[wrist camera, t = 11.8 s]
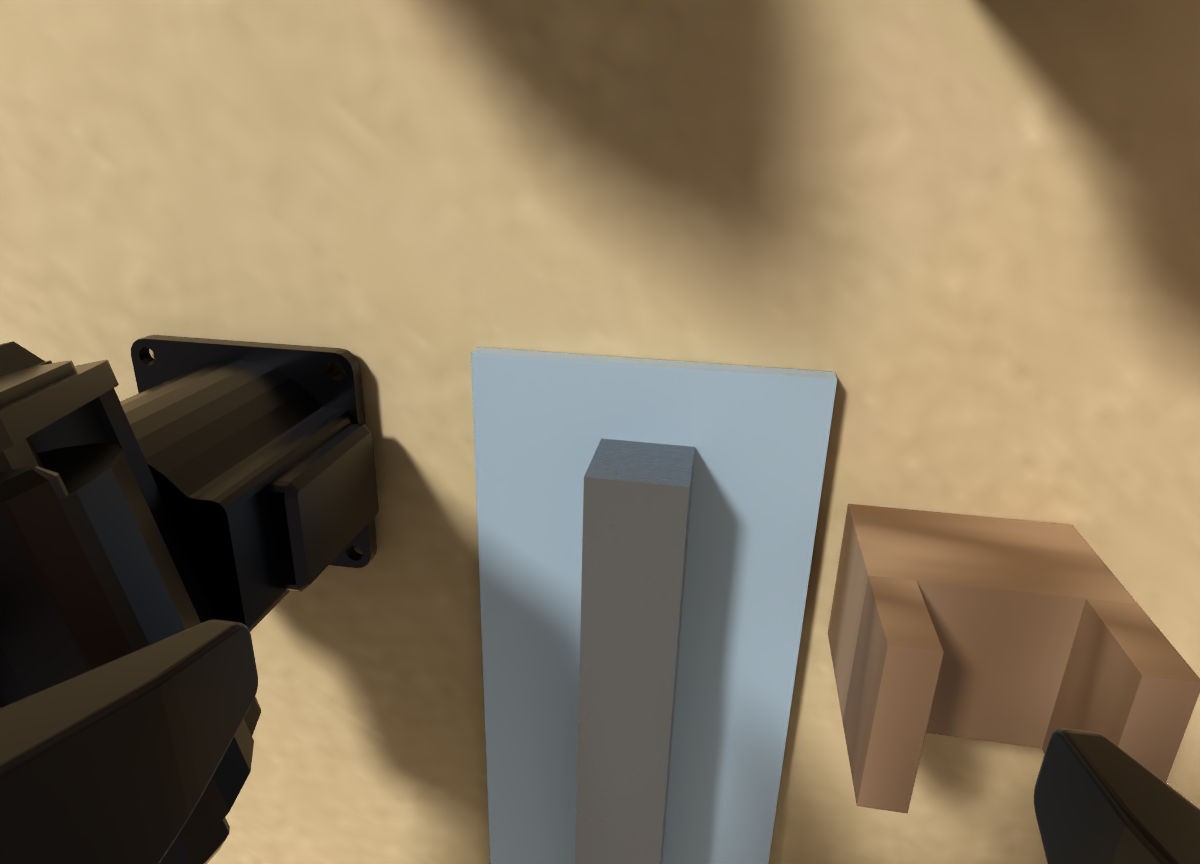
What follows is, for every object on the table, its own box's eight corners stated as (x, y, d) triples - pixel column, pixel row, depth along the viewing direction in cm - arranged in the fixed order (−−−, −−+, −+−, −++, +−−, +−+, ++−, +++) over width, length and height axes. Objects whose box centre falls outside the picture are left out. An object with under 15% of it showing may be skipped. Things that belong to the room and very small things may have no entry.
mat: (503, 1072, 31) (498, 1089, 31) (478, 346, 20) (471, 353, 20) (729, 1119, 30) (729, 1138, 30) (834, 372, 19) (837, 379, 19)
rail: (644, 1087, 29) (636, 1166, 27) (581, 1074, 30) (568, 1150, 27) (694, 446, 20) (689, 486, 18) (601, 438, 20) (583, 477, 18)
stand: (827, 632, 22) (856, 805, 16) (848, 504, 20) (887, 645, 15) (1035, 657, 21) (1140, 848, 15) (1072, 525, 19) (1202, 682, 14)
